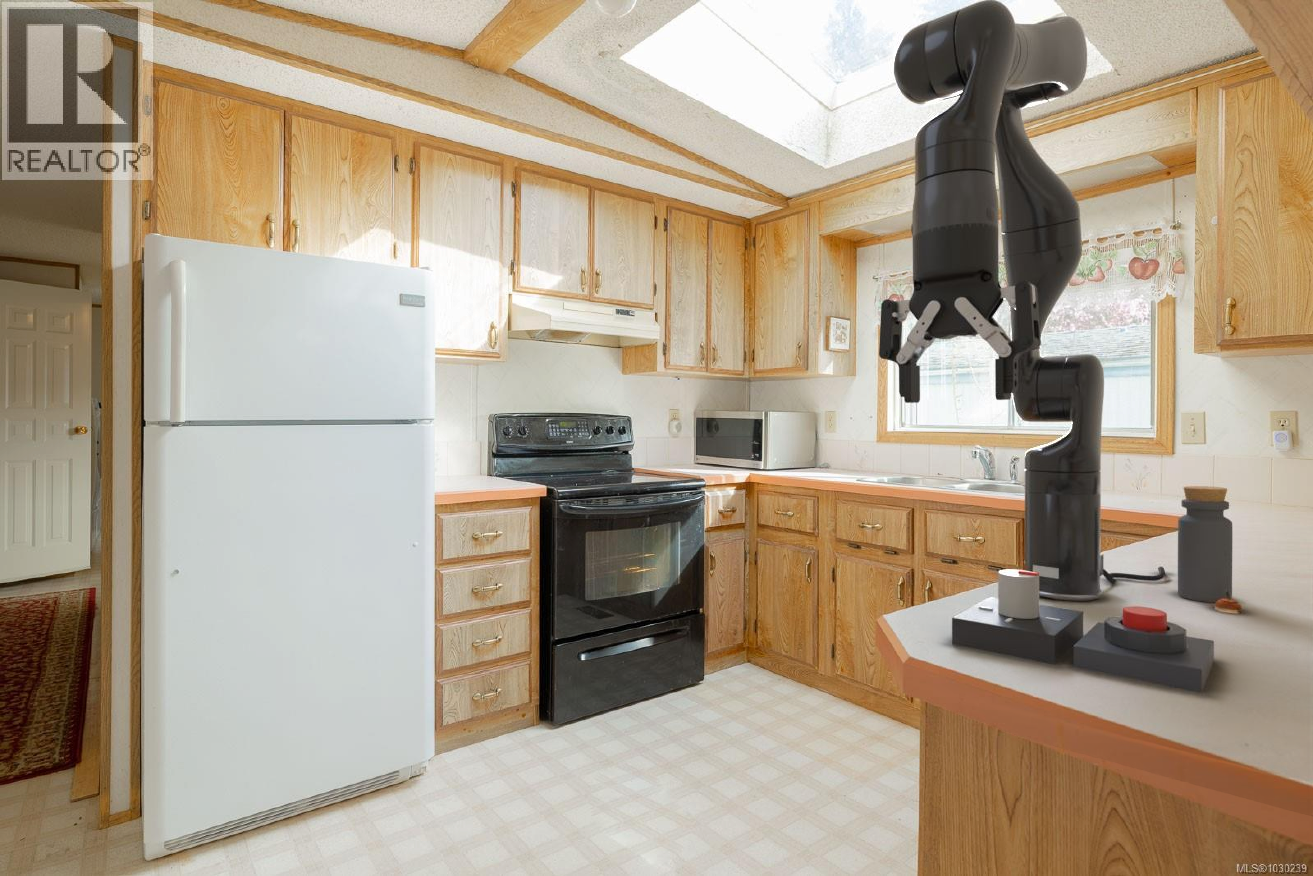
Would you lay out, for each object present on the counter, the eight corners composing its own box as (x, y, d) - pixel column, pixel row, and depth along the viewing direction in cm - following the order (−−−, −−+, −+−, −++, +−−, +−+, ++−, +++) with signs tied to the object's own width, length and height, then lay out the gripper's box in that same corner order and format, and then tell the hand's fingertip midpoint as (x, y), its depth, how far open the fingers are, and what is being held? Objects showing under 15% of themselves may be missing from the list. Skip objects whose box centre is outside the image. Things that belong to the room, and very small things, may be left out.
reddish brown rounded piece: (1208, 608, 90) (1208, 587, 90) (1226, 606, 91) (1226, 586, 91) (1231, 614, 88) (1231, 593, 88) (1250, 612, 88) (1250, 591, 88)
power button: (1126, 621, 72) (1126, 604, 72) (1169, 627, 70) (1169, 610, 70) (1119, 628, 70) (1119, 611, 70) (1163, 636, 67) (1163, 617, 67)
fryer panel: (988, 621, 85) (988, 595, 85) (1083, 638, 79) (1083, 609, 79) (951, 645, 77) (951, 616, 77) (1054, 666, 70) (1054, 634, 70)
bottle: (1242, 603, 92) (1242, 489, 92) (1191, 602, 94) (1192, 489, 93) (1216, 593, 98) (1217, 485, 98) (1169, 591, 99) (1169, 485, 99)
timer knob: (993, 614, 77) (993, 570, 77) (1004, 607, 80) (1004, 565, 80) (1033, 621, 75) (1033, 576, 75) (1043, 613, 78) (1043, 570, 78)
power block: (1097, 641, 77) (1098, 605, 77) (1213, 662, 70) (1214, 622, 70) (1073, 668, 69) (1073, 627, 69) (1201, 694, 62) (1201, 649, 62)
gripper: (1048, 222, 65) (1048, 399, 65) (898, 249, 75) (900, 403, 75) (1024, 206, 59) (1024, 399, 60) (866, 237, 69) (867, 403, 70)
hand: (955, 401), depth 68 cm, fingers open, 8 cm apart
